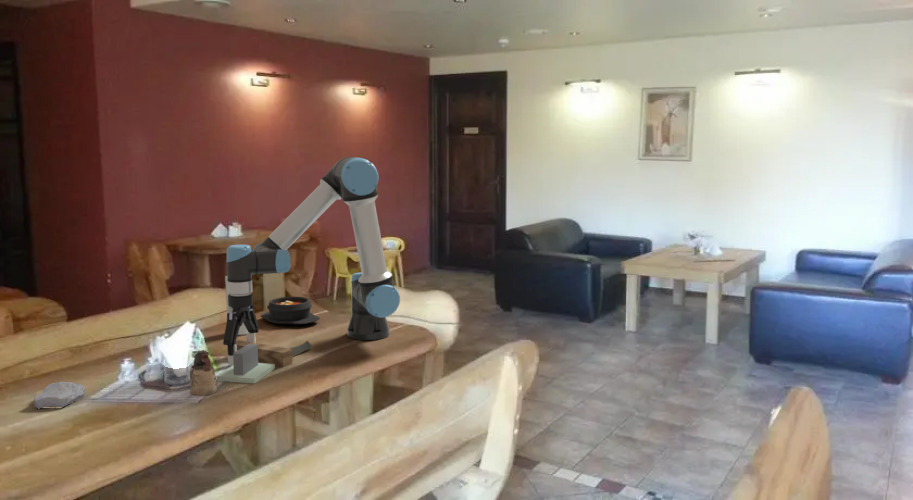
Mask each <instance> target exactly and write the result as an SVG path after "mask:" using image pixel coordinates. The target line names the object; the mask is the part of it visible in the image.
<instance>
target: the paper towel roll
mask: <svg viewBox="0 0 913 500" xmlns="http://www.w3.org/2000/svg"><path fill="white" fill-rule="evenodd" d="M224 281H225V302H226V303H225V304H226V314H227V313H232V311H233V308H232V307H230V306H229V305H228V295H229V293H228V285H227V283H228V281H227V275H225V276H224ZM247 333H249V332H248V331H247V329H246V327H245V325H244V323H242V326H240V328H239V332H238V335H237V336H245V335H247Z"/></svg>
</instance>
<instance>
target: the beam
mask: <svg viewBox="0 0 913 500" xmlns="http://www.w3.org/2000/svg"><path fill="white" fill-rule="evenodd" d="M248 344H256V345H258V363H268V364H275V367H281V368H285V367H287V366H290V365H293V357H292V349H289V348H290V347H288V348H287V347H282V346H276V345H270V344H263V343H258V342H256V343H253V342H247V340H246V341H245V340H239V339H236V342H235V345H237V351H238V350H239V349H241V348H243V347H244V346H246V345H248Z"/></svg>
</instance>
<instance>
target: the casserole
mask: <svg viewBox="0 0 913 500" xmlns="http://www.w3.org/2000/svg"><path fill="white" fill-rule="evenodd" d="M312 306H313V304H312V303H311V300H310V299H309V298H306V297H303V296H281V297H276V298H274V299H271V300H270V301H269V303H268V305H267V306H266V307H267V310H268V311H267V312H264V313H261V314H260V317H261V318H262V319H265V321H267V322H270V323H273V324H277V325H281V326H295V325H307V324H311V323H314V322H317V321H319V320H320V319H321V317H320V316H317V315H315V314H314V313H312V312H311V308H312Z"/></svg>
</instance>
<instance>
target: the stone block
mask: <svg viewBox="0 0 913 500" xmlns="http://www.w3.org/2000/svg"><path fill="white" fill-rule="evenodd" d="M85 393H86V387H85V385H83V384H81V383H79V382H78V383H76V382H72V381H59V382H58V381H57V382H51V383H50V384H48V385H47V386H46V387H45V388H44V389H43V391H42V392H41V393H39V394H36V395H35V396H34V397H33V398H34V399H33V400H34V404H33V405H34V406H33V407H36V409H37V408H43V407H64V406H66V405H68V404H70V405H72V404H73V403H72V402H74V401H76V400H78V399H80V398H82V397H83V398H84V397H85V396H84V395H85ZM83 398H82V399H83ZM80 400H81V399H80ZM78 401H79V400H78ZM76 402H77V401H76ZM71 403H72V404H71ZM74 403H75V402H74ZM68 406H69V405H68ZM66 407H67V406H66ZM64 408H65V407H64Z"/></svg>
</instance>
